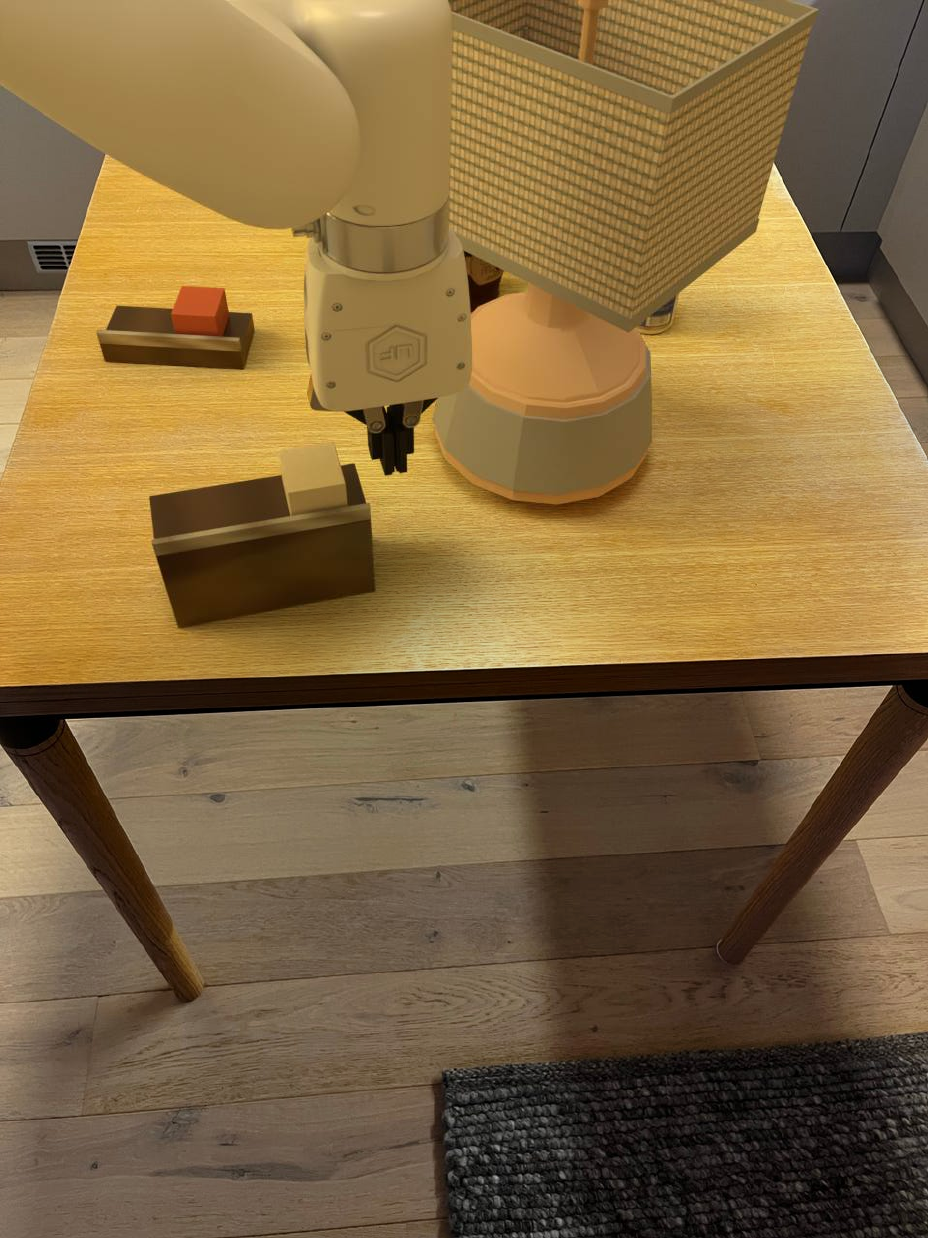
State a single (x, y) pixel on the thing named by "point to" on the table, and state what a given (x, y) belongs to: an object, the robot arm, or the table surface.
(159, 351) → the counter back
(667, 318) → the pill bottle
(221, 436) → the table surface
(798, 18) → the desk lamp
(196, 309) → the red cube block
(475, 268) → the coffee cup
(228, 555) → the counter front
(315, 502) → the tan block
